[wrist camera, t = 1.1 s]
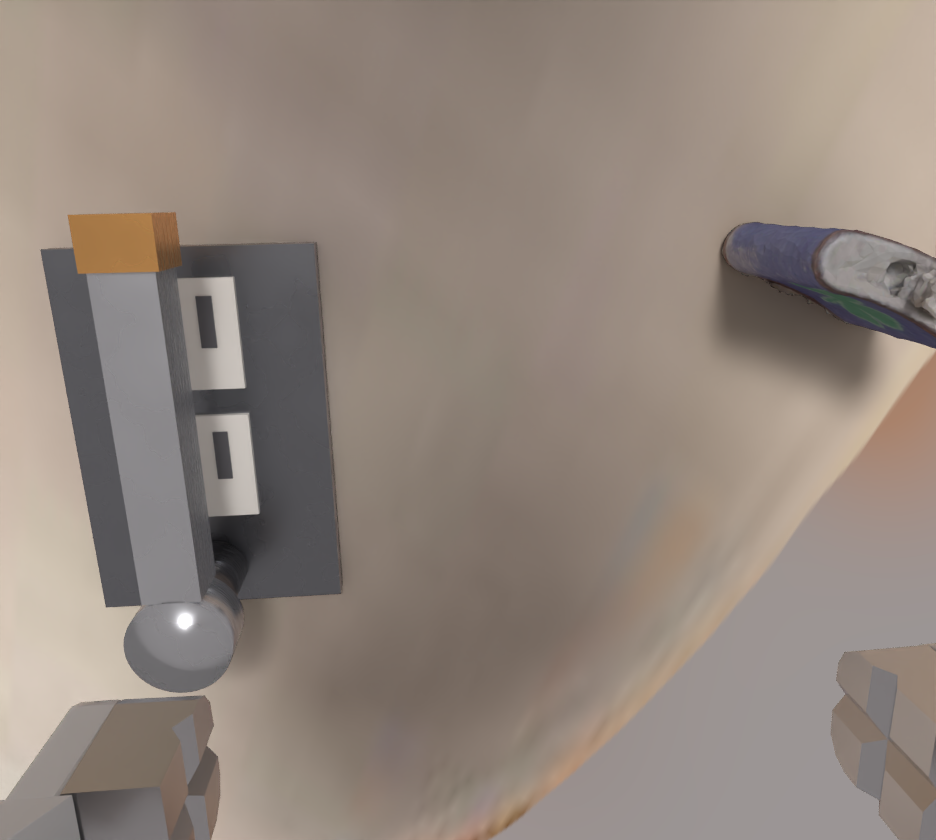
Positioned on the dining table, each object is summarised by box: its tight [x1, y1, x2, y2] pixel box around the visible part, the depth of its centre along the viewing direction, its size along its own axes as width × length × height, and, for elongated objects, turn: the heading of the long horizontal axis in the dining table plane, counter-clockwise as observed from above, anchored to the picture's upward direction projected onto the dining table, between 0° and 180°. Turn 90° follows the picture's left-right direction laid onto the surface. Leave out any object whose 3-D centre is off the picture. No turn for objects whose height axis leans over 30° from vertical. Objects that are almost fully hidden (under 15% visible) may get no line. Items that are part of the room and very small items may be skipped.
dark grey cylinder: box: [212, 541, 248, 596], centre depth 35 cm, size 3×3×4 cm
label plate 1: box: [177, 277, 246, 390], centre depth 34 cm, size 5×5×1 cm
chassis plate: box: [41, 242, 342, 607], centre depth 36 cm, size 18×12×1 cm, turn 1°
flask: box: [722, 222, 936, 348], centre depth 31 cm, size 9×3×11 cm, turn 66°
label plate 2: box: [195, 413, 260, 517], centre depth 35 cm, size 5×5×1 cm
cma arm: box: [68, 212, 244, 693], centre depth 29 cm, size 20×4×3 cm, turn 1°
